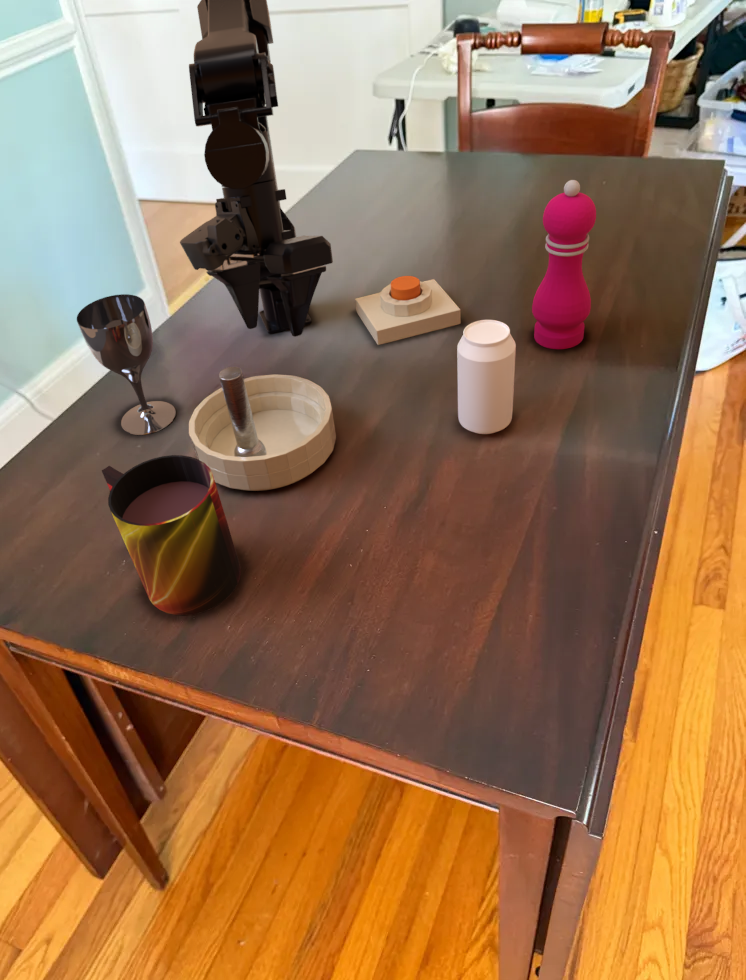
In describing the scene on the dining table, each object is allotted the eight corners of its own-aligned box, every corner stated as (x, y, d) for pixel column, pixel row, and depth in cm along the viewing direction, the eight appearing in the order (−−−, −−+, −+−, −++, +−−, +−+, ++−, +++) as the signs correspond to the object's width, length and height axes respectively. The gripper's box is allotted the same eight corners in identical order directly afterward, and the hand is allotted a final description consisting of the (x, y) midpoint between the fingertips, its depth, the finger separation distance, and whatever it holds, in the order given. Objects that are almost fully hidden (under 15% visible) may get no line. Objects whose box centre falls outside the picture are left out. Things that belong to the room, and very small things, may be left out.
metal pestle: (244, 454, 90) (220, 362, 82) (273, 456, 89) (252, 364, 81) (233, 474, 88) (207, 382, 79) (263, 477, 87) (240, 383, 78)
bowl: (189, 429, 97) (179, 395, 94) (317, 395, 99) (311, 361, 96) (210, 511, 86) (199, 476, 82) (354, 471, 88) (349, 436, 84)
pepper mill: (587, 352, 99) (607, 192, 85) (529, 351, 101) (538, 194, 87) (586, 322, 104) (605, 166, 90) (531, 322, 106) (540, 169, 92)
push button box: (356, 312, 113) (353, 286, 110) (434, 292, 115) (433, 267, 112) (378, 345, 106) (375, 318, 103) (460, 324, 108) (460, 297, 105)
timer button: (387, 291, 109) (386, 279, 108) (414, 284, 109) (413, 273, 108) (396, 304, 106) (396, 292, 105) (424, 297, 107) (424, 285, 105)
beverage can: (507, 441, 88) (511, 348, 80) (453, 436, 90) (451, 345, 82) (515, 409, 92) (520, 317, 84) (463, 405, 94) (462, 315, 86)
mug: (134, 535, 84) (97, 448, 76) (253, 549, 81) (229, 458, 72) (93, 603, 78) (47, 515, 70) (220, 621, 74) (188, 531, 66)
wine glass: (189, 402, 102) (157, 296, 91) (160, 440, 96) (122, 331, 86) (137, 396, 104) (99, 292, 93) (106, 433, 99) (62, 326, 88)
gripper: (141, 198, 85) (174, 341, 92) (229, 192, 72) (260, 360, 79) (228, 183, 91) (252, 318, 98) (325, 175, 77) (345, 333, 84)
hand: (273, 331), depth 90 cm, fingers open, 9 cm apart
